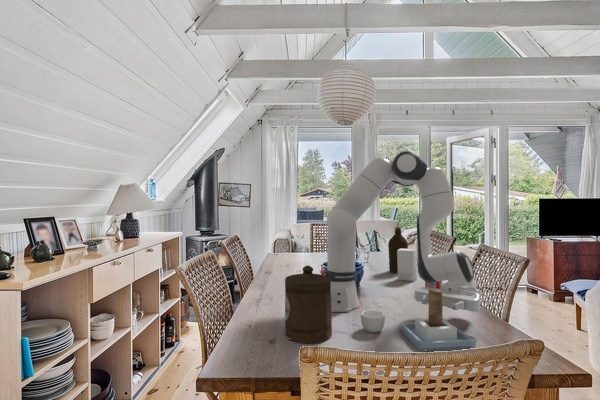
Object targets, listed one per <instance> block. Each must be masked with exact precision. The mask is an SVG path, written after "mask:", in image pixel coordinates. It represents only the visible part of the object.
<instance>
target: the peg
mask: <svg viewBox="0 0 600 400" xmlns="http://www.w3.org/2000/svg"><path fill="white" fill-rule="evenodd" d="M428 318H429V326H430V327H442V318H443V306H442V291H441V290H437V289H430V290H429V303H428Z"/></svg>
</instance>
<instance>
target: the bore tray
mask: <svg viewBox="0 0 600 400" xmlns="http://www.w3.org/2000/svg"><path fill="white" fill-rule="evenodd" d="M399 325H400V326H399V327H400V329H399V331H400V332H401V334H402V335H404V337H405V338H407V340H409V341H410V343H412V344H413V346H414V347H416V348H417V350H419V351H420V350H421V351H425V350H426V351H432V352H446V351H445V350H450V351H460V350H459V349H468V350H471V349H470V348H475V349H476V346H475V345H476V343H475V342H476V341H475V339H473V338H472V337H471V336H469V335H468V334H466V333H465V332H463V331H462V330H461V329H459V328H457V327H456V326H455V325H453V324H452V323H451V322H449V321H448V320H447V319H444V318H443V317H442V327H430V326H429V317H428V318H414V322H403V323H401V322H400V324H399ZM421 351H420V352H421Z"/></svg>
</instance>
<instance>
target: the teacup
mask: <svg viewBox="0 0 600 400" xmlns="http://www.w3.org/2000/svg"><path fill="white" fill-rule="evenodd" d="M385 319H386V316H385V313H384V312H383V311H380V310H374V309H368V310H363V311H362V312H361V313H360V321H361V322H360V323H361V325H362V328H363V329H364V330H365V331H366V332H368V333H371V334H374V333H375V334H376V333H379V332H381V331H382V330H383V329H384V328H385V321H386V320H385Z"/></svg>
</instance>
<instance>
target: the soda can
mask: <svg viewBox="0 0 600 400" xmlns="http://www.w3.org/2000/svg"><path fill="white" fill-rule="evenodd" d="M442 285H443V284H442V281H439V282H435V283H431V284H430V283H427V282H426V281H424V287H428V288H435V289H440V287H441V286H442Z"/></svg>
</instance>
